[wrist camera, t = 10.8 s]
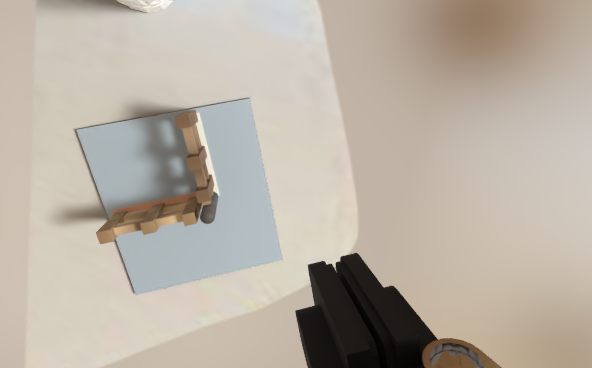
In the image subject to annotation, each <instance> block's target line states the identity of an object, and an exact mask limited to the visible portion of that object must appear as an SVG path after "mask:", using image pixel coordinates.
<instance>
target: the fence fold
mask: <svg viewBox="0 0 592 368" xmlns="http://www.w3.org/2000/svg"><path fill="white" fill-rule="evenodd" d="M201 208H202V203H198V201H197V197H196V196H195V197H190V198H189V199H188V201H184V202H180V203H175V204H170V205H165V203H161V204H156V205H153V206H152V208H150V209H145V210H140V211H135V212H130V213H128V211H127V210H126V211H122V212H117V213H115V214H114V215H113V216H112V217H111V218H110V219H109V220H108V221H107V222H106V223H105V224H104V225H103V226H102V227H101V228H100V229H99V230H98V231H97V232H96V234H97V237H98V240H99V243H100V244H104V243H108V242H113V241H114V240H115V239H116V237H117V236H118V235H121V234H126V233H131V232H136V231H140V230H142V232H143V235H146V234H151V233H155V232H157V230H158V228H159V227H160V226H164V225H169V224H174V223H178V222H184V226H188V225H193V224H197V222H198V219H199V215H200V212H201Z"/></svg>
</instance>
